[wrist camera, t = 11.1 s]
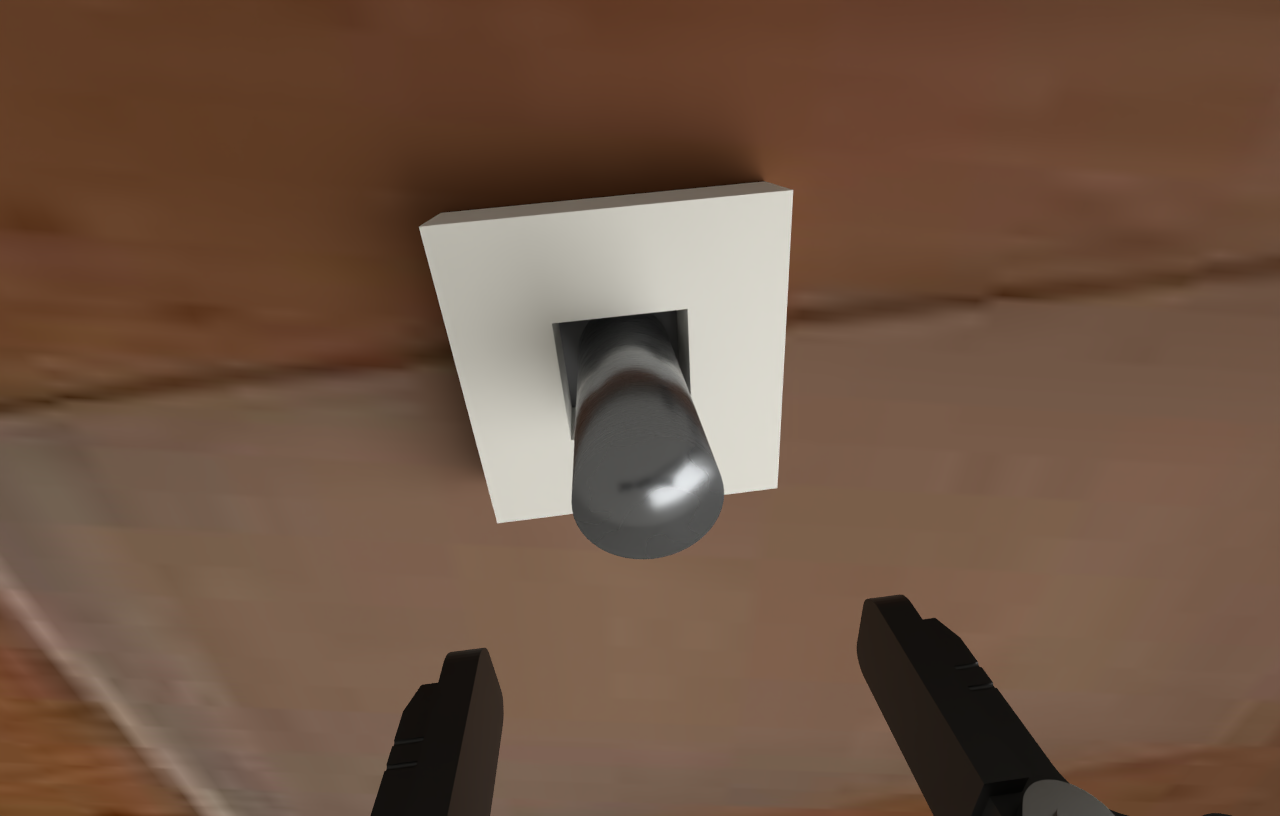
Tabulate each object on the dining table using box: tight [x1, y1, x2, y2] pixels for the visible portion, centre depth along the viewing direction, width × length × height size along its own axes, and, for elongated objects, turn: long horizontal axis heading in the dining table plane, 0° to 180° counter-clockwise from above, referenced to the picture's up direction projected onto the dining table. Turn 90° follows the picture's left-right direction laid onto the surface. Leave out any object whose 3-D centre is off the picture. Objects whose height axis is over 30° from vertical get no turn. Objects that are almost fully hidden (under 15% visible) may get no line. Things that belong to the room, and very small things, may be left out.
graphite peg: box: [571, 313, 724, 559], centre depth 21 cm, size 4×4×12 cm
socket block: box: [419, 181, 793, 523], centre depth 25 cm, size 14×14×4 cm
